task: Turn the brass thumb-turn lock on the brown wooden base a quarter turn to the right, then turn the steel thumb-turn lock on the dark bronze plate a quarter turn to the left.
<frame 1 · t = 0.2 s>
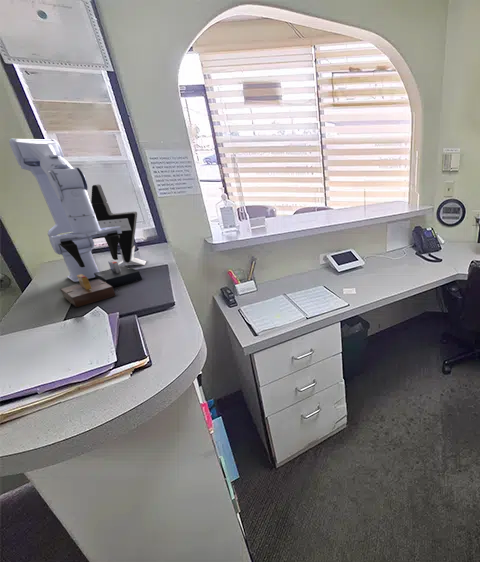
hand: (99, 262, 89), 10 cm above the table, tool pointing down, fingers open, 7 cm apart
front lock: (83, 281, 89), point 5 cm above the table, hinge at 0.0°
award: (128, 266, 119), on the table
back plate: (119, 280, 104), on the table
brown wooden base: (90, 296, 91), on the table
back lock: (114, 266, 102), point 5 cm above the table, hinge at 0.0°
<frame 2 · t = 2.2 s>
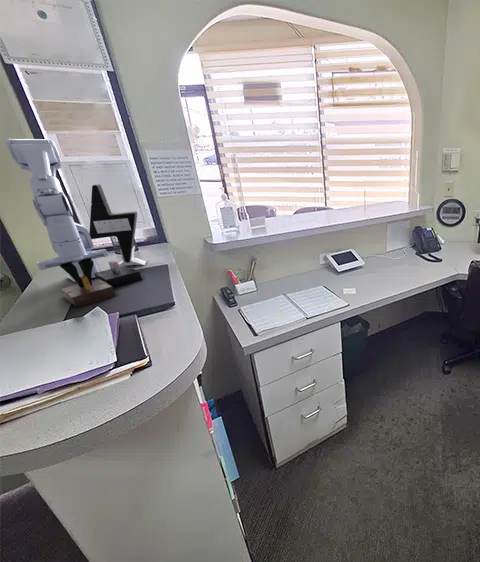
hand: (85, 286, 90), 4 cm above the table, tool pointing down, fingers closed on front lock
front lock: (83, 281, 89), point 5 cm above the table, hinge at 0.1°, touching gripper
everything else where it was.
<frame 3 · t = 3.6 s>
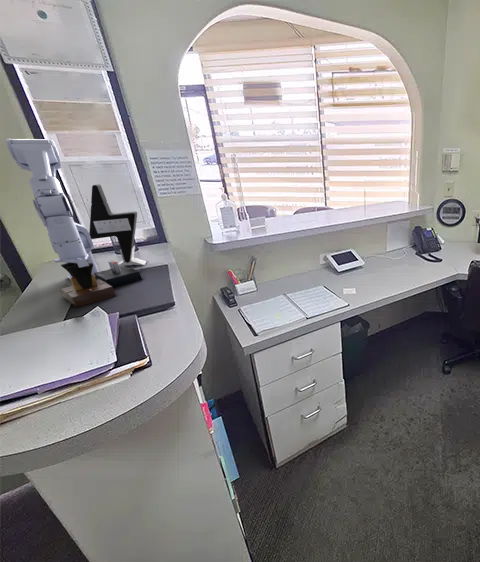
hand: (86, 286, 90), 3 cm above the table, tool pointing down, fingers open, 3 cm apart
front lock: (83, 281, 89), point 5 cm above the table, hinge at -89.5°
everything else where it was.
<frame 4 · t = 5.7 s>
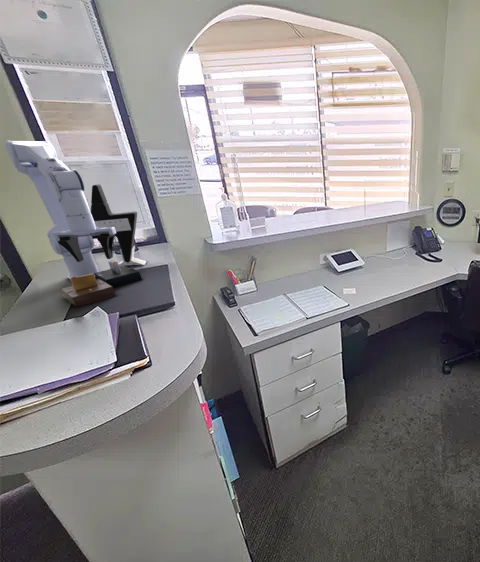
hand: (95, 259, 94), 9 cm above the table, tool pointing down, fingers open, 7 cm apart
nothing on the table moved.
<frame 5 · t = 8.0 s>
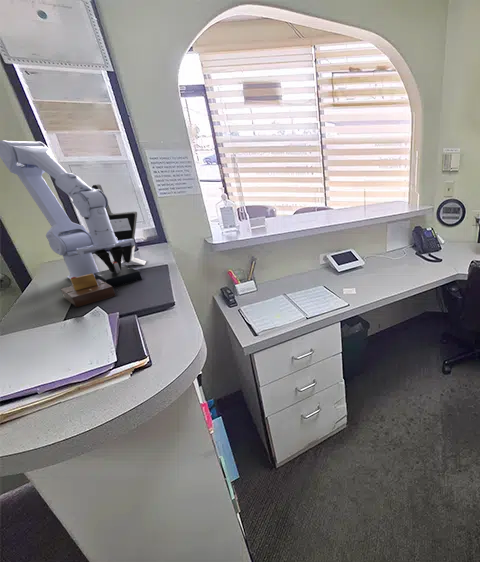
hand: (116, 270, 102), 4 cm above the table, tool pointing down, fingers closed on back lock
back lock: (114, 266, 102), point 5 cm above the table, hinge at 0.0°, touching gripper
everything else where it was.
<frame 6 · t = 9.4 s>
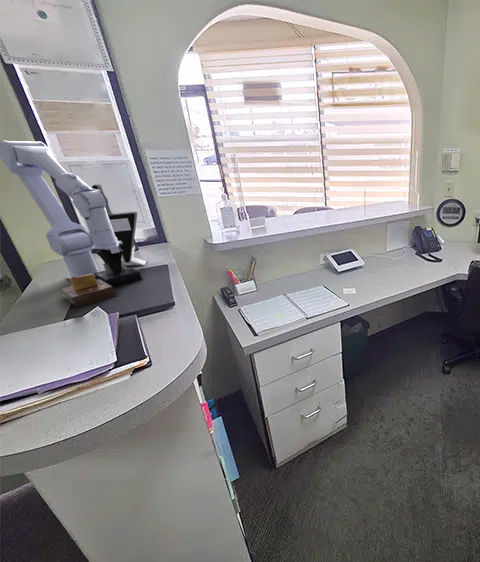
hand: (116, 271, 102), 3 cm above the table, tool pointing down, fingers open, 3 cm apart
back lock: (114, 266, 102), point 5 cm above the table, hinge at 89.5°
everything else where it was.
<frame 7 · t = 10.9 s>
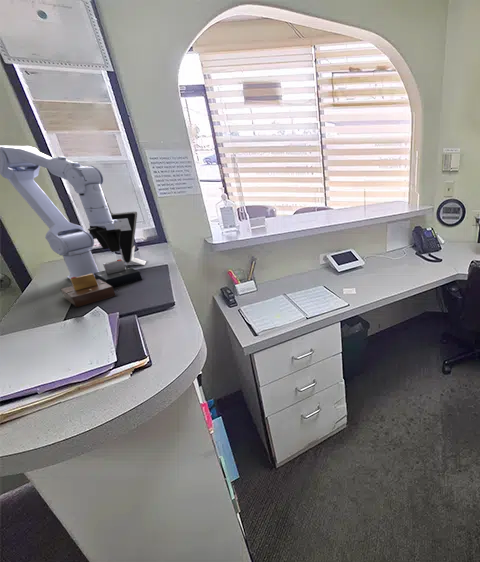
hand: (111, 249, 101), 10 cm above the table, tool pointing down, fingers open, 7 cm apart
nothing on the table moved.
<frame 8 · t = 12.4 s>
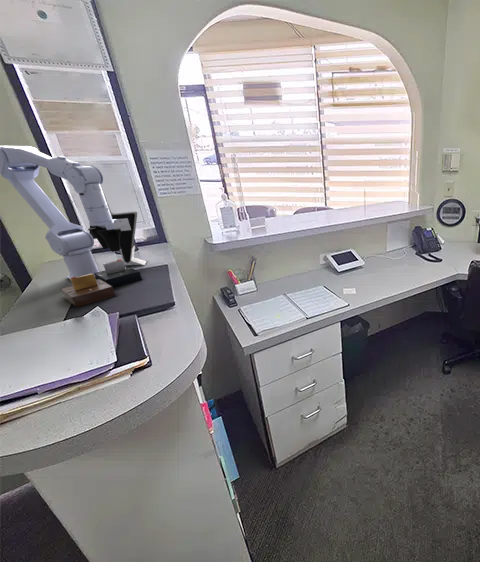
hand: (111, 249, 101), 10 cm above the table, tool pointing down, fingers open, 7 cm apart
nothing on the table moved.
at the end: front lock at -90° (first picture: +0°); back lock at +90° (first picture: +0°); award moved 0.2 cm from its start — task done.
